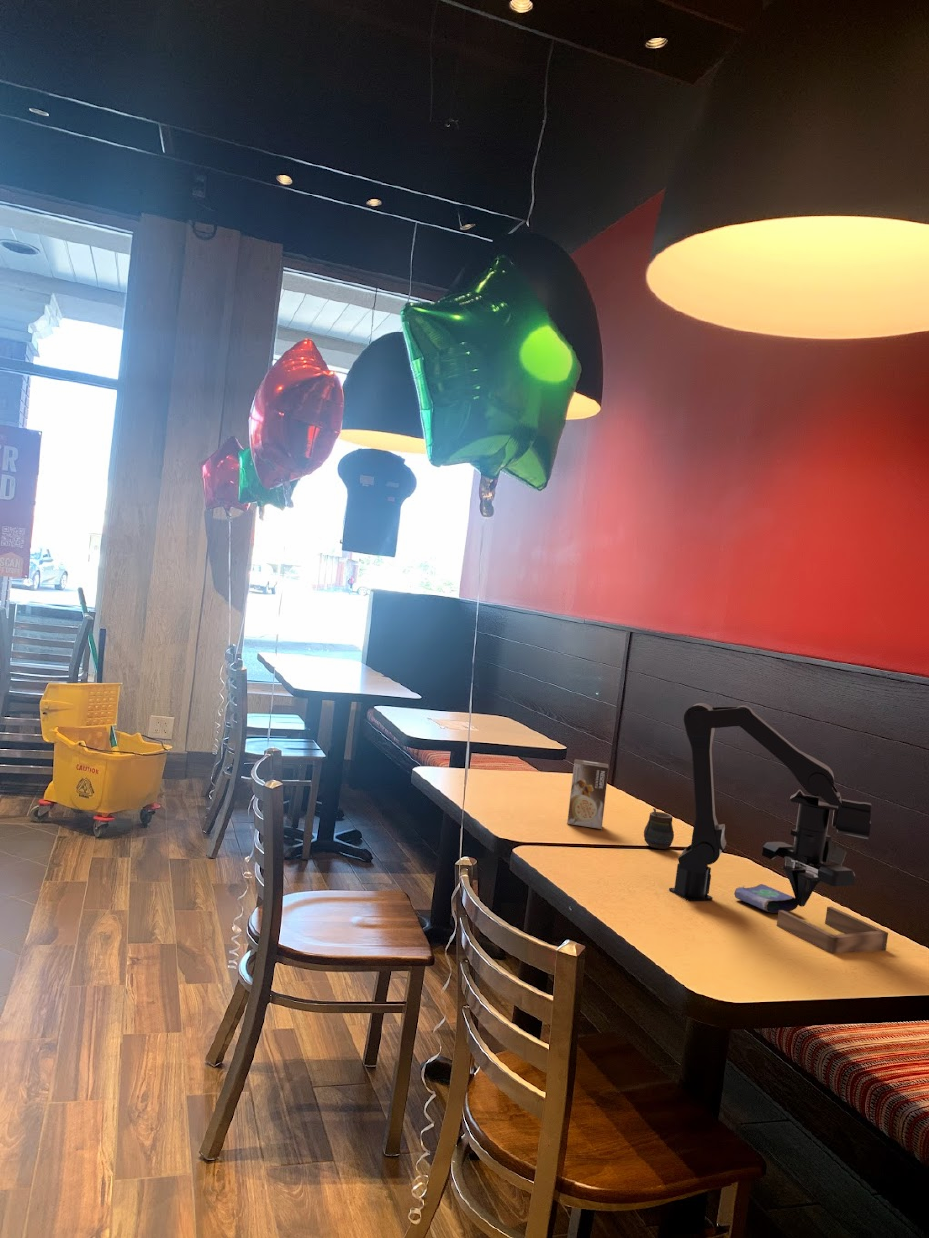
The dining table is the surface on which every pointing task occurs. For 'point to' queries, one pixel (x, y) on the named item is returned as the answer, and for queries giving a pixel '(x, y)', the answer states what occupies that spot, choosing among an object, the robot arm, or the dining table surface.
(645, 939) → the dining table surface
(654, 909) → the dining table surface
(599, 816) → the coffee box
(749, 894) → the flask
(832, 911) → the walnut u-shaped fence
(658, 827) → the mate gourd
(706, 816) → the robot arm
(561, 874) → the dining table surface
